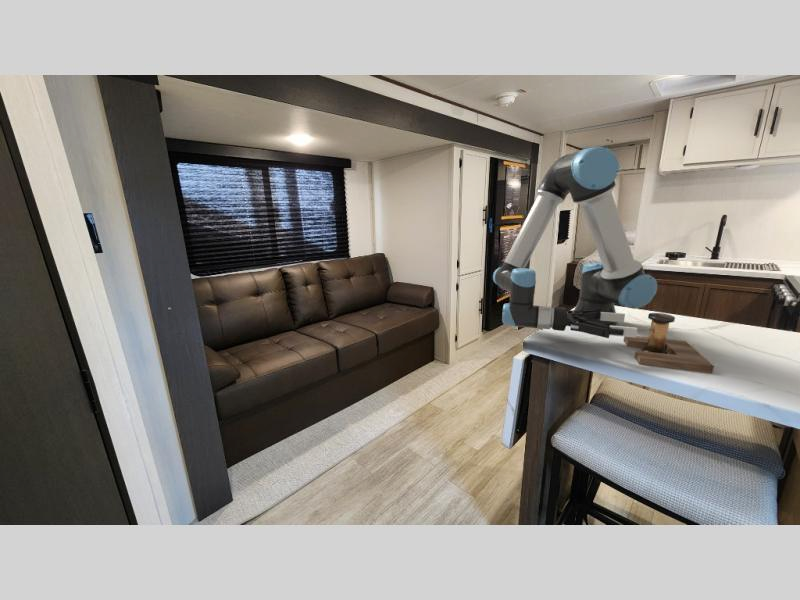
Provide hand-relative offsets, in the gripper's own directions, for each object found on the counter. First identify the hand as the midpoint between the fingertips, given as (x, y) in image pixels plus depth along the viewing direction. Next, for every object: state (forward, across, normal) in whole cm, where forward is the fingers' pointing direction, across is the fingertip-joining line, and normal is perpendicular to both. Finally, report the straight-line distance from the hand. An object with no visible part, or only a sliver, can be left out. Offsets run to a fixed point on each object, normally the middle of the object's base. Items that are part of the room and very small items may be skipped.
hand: (630, 324), depth 96 cm
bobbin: (+7, 0, -9) cm, 11 cm away
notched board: (+9, 0, -8) cm, 13 cm away
